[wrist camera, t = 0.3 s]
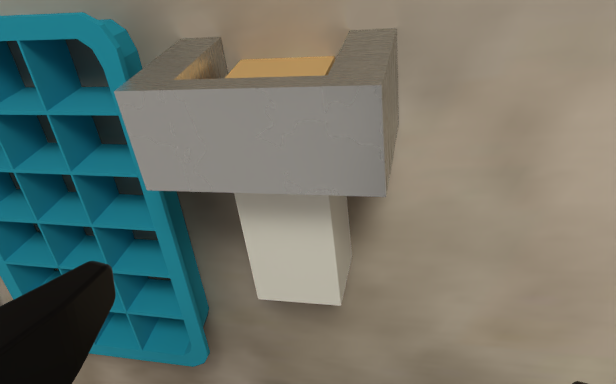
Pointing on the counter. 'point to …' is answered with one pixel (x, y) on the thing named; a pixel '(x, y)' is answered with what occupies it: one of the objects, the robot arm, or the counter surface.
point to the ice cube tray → (90, 193)
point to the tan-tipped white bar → (295, 220)
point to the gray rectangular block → (265, 122)
